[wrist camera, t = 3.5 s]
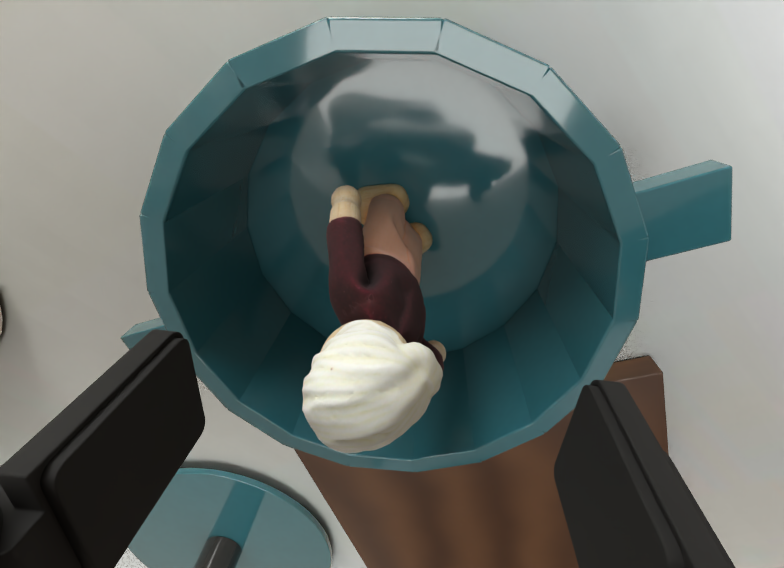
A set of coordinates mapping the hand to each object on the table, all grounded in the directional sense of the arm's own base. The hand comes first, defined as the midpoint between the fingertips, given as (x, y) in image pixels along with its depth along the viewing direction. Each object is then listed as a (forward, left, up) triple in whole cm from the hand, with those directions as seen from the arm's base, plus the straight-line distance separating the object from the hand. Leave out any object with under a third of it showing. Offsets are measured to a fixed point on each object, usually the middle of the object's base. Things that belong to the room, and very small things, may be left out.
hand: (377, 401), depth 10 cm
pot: (0, 0, -12) cm, 12 cm away
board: (+7, -19, -12) cm, 23 cm away
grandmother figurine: (0, 0, -12) cm, 12 cm away
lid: (-13, -28, -12) cm, 33 cm away
